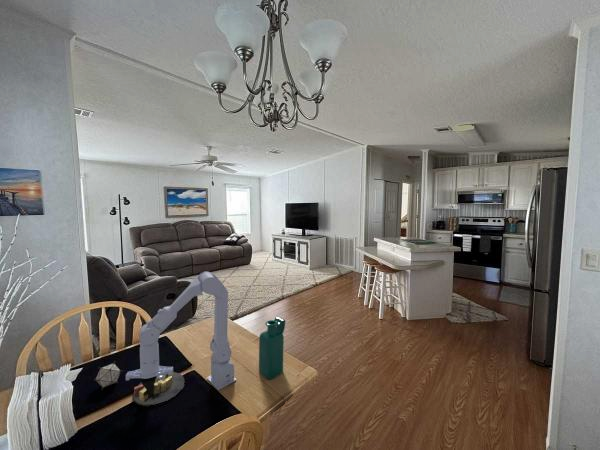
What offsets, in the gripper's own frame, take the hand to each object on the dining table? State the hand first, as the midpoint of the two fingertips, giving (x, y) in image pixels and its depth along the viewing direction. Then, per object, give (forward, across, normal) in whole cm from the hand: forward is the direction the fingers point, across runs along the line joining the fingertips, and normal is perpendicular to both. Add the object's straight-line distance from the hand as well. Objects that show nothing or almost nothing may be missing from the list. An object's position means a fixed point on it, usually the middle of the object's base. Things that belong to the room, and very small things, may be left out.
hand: (150, 395), depth 91 cm
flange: (+2, -1, -6) cm, 7 cm away
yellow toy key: (+1, 0, -5) cm, 5 cm away
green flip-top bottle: (+3, -44, -9) cm, 45 cm away
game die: (+2, +18, -12) cm, 22 cm away
